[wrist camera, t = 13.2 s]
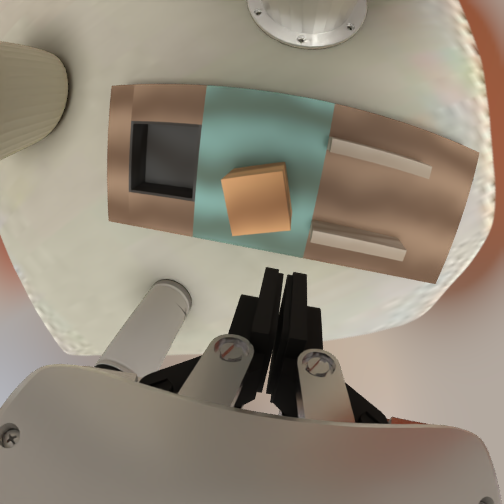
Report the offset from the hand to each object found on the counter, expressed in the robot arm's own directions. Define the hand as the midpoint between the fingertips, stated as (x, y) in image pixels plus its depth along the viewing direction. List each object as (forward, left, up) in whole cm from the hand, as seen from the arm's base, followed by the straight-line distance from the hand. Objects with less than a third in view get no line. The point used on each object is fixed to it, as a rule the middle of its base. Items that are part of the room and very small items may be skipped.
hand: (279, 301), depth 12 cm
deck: (-1, -2, -22) cm, 22 cm away
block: (0, -3, -18) cm, 18 cm away
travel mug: (+19, -14, -22) cm, 32 cm away
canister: (-9, -37, -22) cm, 44 cm away
